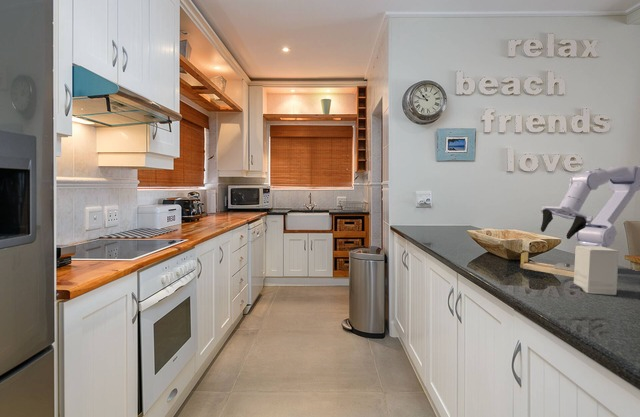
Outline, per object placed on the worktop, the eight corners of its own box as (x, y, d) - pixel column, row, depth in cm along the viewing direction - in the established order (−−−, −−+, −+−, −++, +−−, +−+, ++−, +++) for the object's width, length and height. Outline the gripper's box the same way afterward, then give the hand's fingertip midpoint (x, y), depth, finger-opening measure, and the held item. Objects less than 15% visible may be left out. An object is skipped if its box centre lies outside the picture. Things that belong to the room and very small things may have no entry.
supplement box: (617, 295, 91) (620, 250, 90) (587, 293, 92) (589, 249, 92) (600, 287, 98) (602, 245, 97) (572, 286, 100) (574, 245, 99)
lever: (524, 265, 122) (525, 252, 121) (527, 265, 121) (528, 252, 120) (520, 266, 119) (521, 253, 119) (523, 267, 118) (524, 253, 118)
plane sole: (526, 267, 123) (526, 260, 122) (583, 277, 109) (584, 269, 109) (519, 270, 118) (519, 263, 118) (578, 280, 105) (578, 273, 105)
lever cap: (558, 265, 114) (558, 261, 114) (579, 269, 109) (580, 264, 109) (553, 267, 111) (554, 263, 111) (575, 271, 106) (576, 266, 106)
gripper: (547, 190, 116) (529, 221, 113) (598, 200, 104) (579, 234, 102) (550, 202, 120) (532, 231, 118) (599, 212, 109) (581, 245, 106)
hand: (554, 233), depth 110 cm, fingers open, 7 cm apart
